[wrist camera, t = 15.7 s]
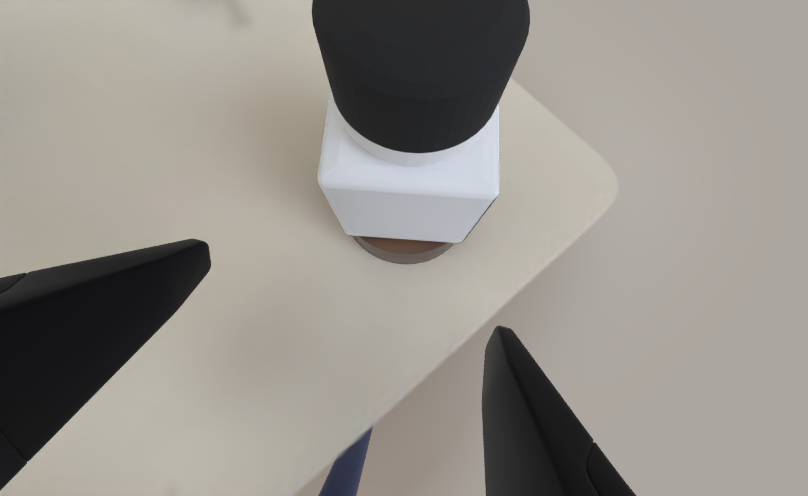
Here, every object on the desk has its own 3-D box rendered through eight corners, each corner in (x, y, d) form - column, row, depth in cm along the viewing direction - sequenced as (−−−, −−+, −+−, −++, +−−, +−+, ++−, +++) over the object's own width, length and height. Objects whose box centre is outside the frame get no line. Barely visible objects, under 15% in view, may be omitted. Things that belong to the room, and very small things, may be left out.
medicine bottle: (463, 245, 19) (573, 108, 7) (344, 236, 19) (256, 84, 7) (465, 140, 20) (556, -108, 9) (357, 132, 20) (304, -127, 9)
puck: (493, 220, 22) (507, 204, 19) (387, 289, 21) (385, 283, 18) (422, 128, 24) (426, 100, 21) (320, 185, 23) (309, 165, 20)
